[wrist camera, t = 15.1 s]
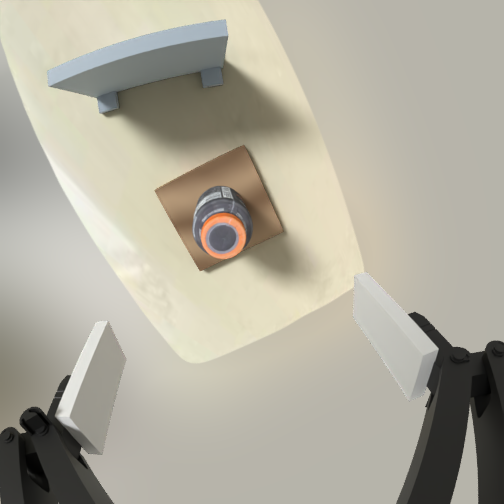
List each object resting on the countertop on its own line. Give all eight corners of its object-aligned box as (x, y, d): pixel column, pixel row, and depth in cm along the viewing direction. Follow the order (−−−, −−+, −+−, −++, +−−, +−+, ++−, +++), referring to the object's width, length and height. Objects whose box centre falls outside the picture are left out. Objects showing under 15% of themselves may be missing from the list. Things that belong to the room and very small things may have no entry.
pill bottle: (246, 229, 38) (259, 267, 28) (198, 234, 38) (194, 273, 27) (242, 182, 36) (255, 203, 26) (193, 187, 36) (185, 209, 25)
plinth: (156, 188, 36) (154, 190, 35) (243, 145, 36) (244, 145, 35) (200, 267, 41) (200, 271, 40) (281, 228, 40) (283, 231, 39)
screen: (100, 114, 32) (50, 108, 20) (94, 71, 29) (46, 50, 17) (225, 84, 33) (232, 58, 21) (218, 41, 30) (222, -2, 18)
